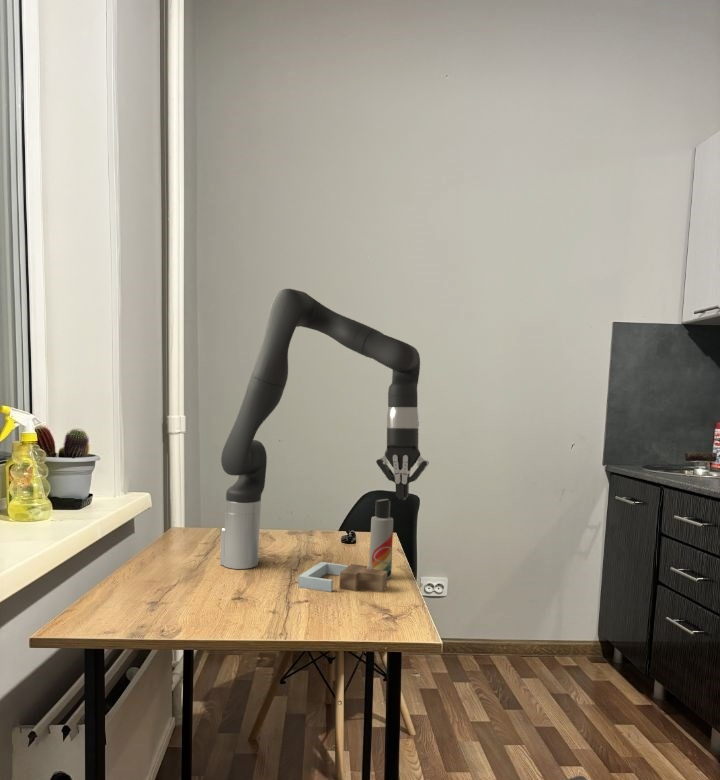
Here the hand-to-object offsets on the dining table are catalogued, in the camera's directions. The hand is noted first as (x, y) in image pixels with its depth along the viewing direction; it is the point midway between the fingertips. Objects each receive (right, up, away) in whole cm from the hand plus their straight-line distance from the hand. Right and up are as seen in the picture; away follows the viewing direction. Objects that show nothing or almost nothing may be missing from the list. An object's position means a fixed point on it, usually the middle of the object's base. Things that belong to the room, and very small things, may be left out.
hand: (402, 499), depth 137 cm
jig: (-19, -21, +6) cm, 29 cm away
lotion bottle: (-5, -22, +11) cm, 25 cm away
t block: (-9, -22, +3) cm, 24 cm away
